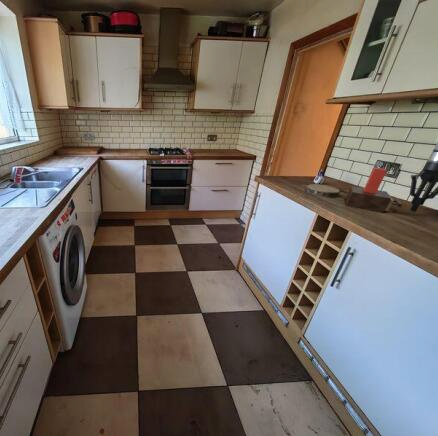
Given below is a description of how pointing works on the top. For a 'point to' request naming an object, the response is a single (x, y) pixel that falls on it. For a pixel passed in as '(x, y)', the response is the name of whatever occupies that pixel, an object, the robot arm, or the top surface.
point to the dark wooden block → (367, 199)
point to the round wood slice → (322, 190)
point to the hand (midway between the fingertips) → (412, 210)
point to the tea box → (375, 180)
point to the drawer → (393, 203)
